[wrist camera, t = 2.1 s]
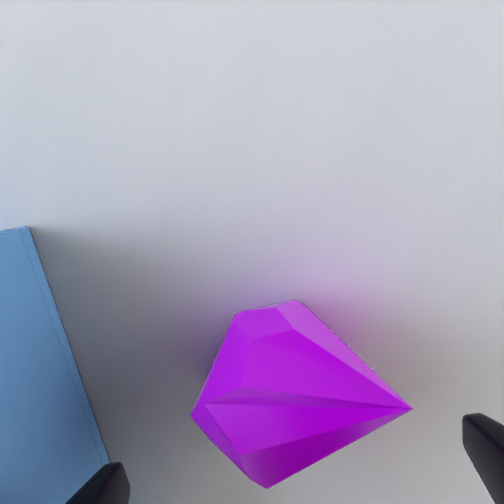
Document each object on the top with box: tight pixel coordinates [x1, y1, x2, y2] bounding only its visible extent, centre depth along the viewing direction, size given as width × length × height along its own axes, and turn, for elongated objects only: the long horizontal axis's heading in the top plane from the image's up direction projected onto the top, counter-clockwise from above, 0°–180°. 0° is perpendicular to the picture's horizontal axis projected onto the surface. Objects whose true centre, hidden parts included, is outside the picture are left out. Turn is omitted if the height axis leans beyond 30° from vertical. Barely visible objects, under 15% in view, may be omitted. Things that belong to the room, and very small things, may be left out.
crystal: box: [190, 300, 413, 489], centre depth 11 cm, size 5×5×5 cm
